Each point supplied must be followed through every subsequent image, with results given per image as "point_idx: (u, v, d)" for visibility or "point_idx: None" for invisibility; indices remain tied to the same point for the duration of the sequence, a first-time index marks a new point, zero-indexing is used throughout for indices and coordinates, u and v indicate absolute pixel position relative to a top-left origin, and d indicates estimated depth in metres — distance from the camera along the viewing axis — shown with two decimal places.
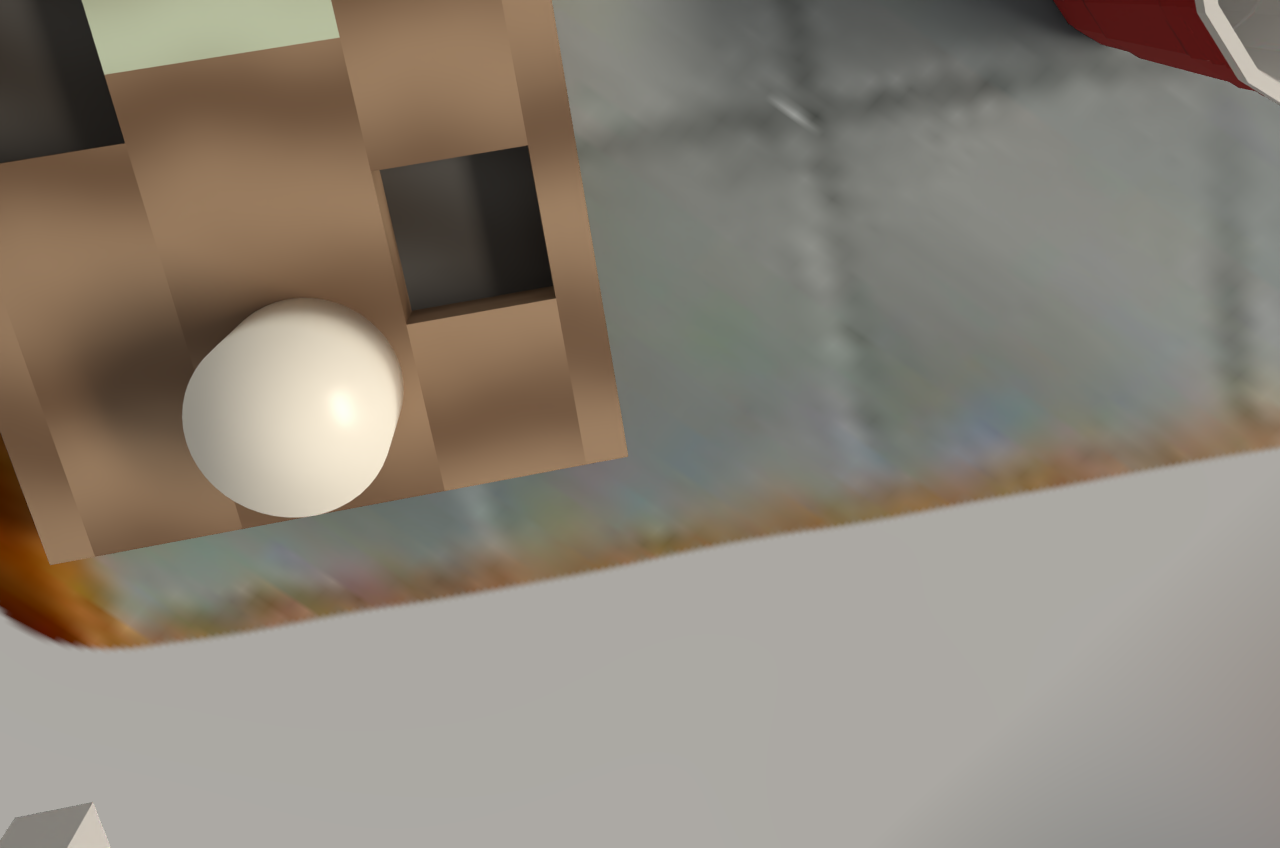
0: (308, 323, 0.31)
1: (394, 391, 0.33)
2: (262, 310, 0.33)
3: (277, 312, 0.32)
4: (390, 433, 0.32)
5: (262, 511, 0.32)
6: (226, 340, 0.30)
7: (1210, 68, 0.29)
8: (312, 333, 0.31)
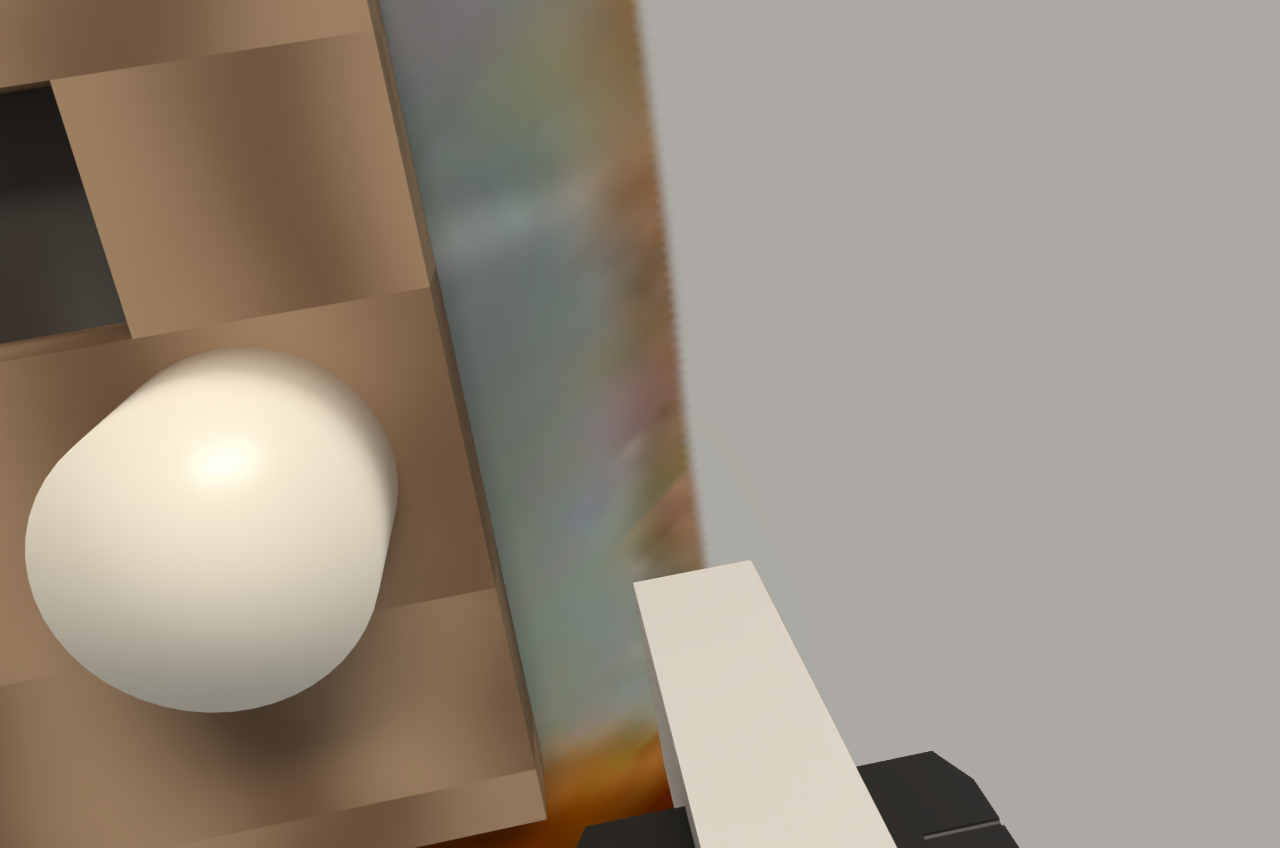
0: None
1: (184, 381, 0.19)
2: None
3: None
4: (210, 407, 0.18)
5: (369, 609, 0.19)
6: (67, 648, 0.19)
7: None
8: (33, 525, 0.18)
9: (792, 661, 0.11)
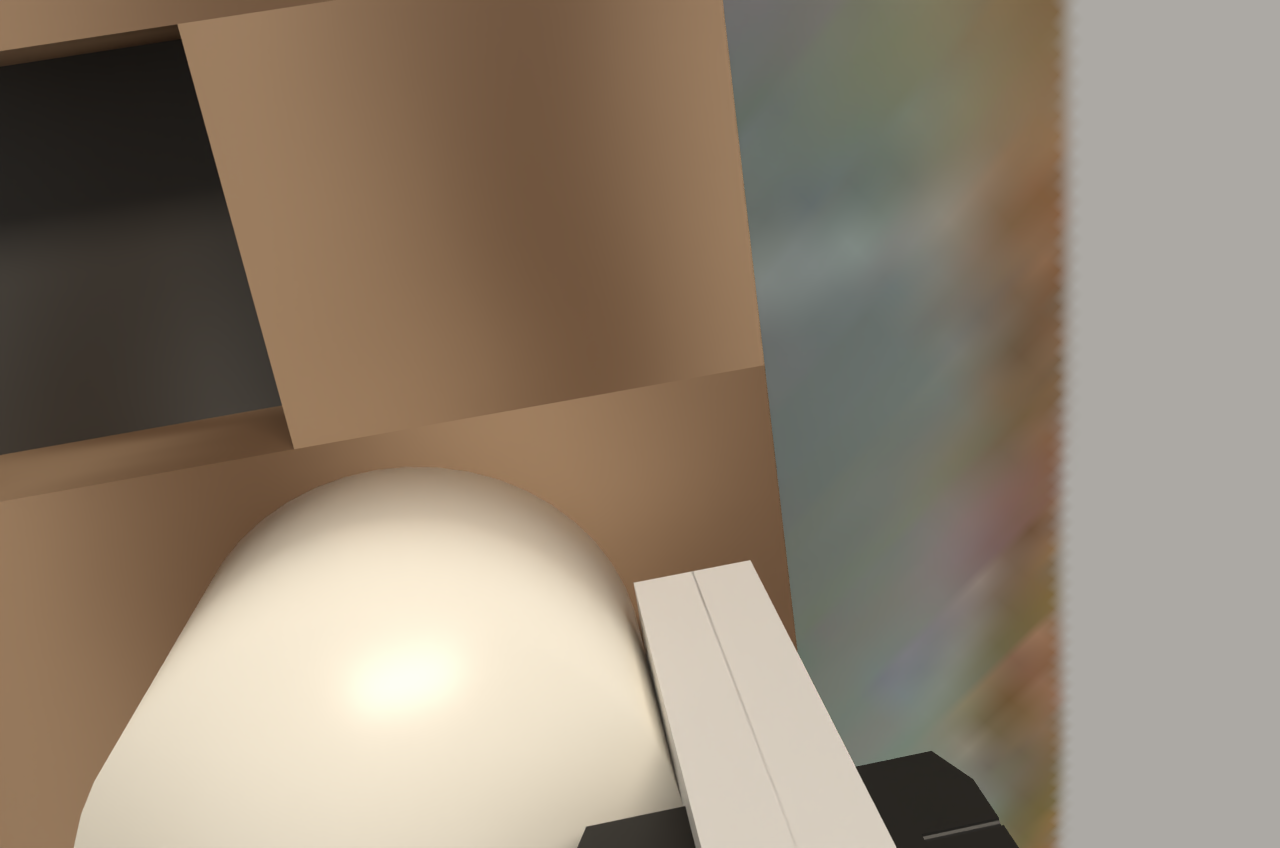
0: None
1: (350, 549, 0.11)
2: None
3: None
4: (420, 622, 0.10)
5: None
6: None
7: None
8: (89, 828, 0.10)
9: (791, 661, 0.11)
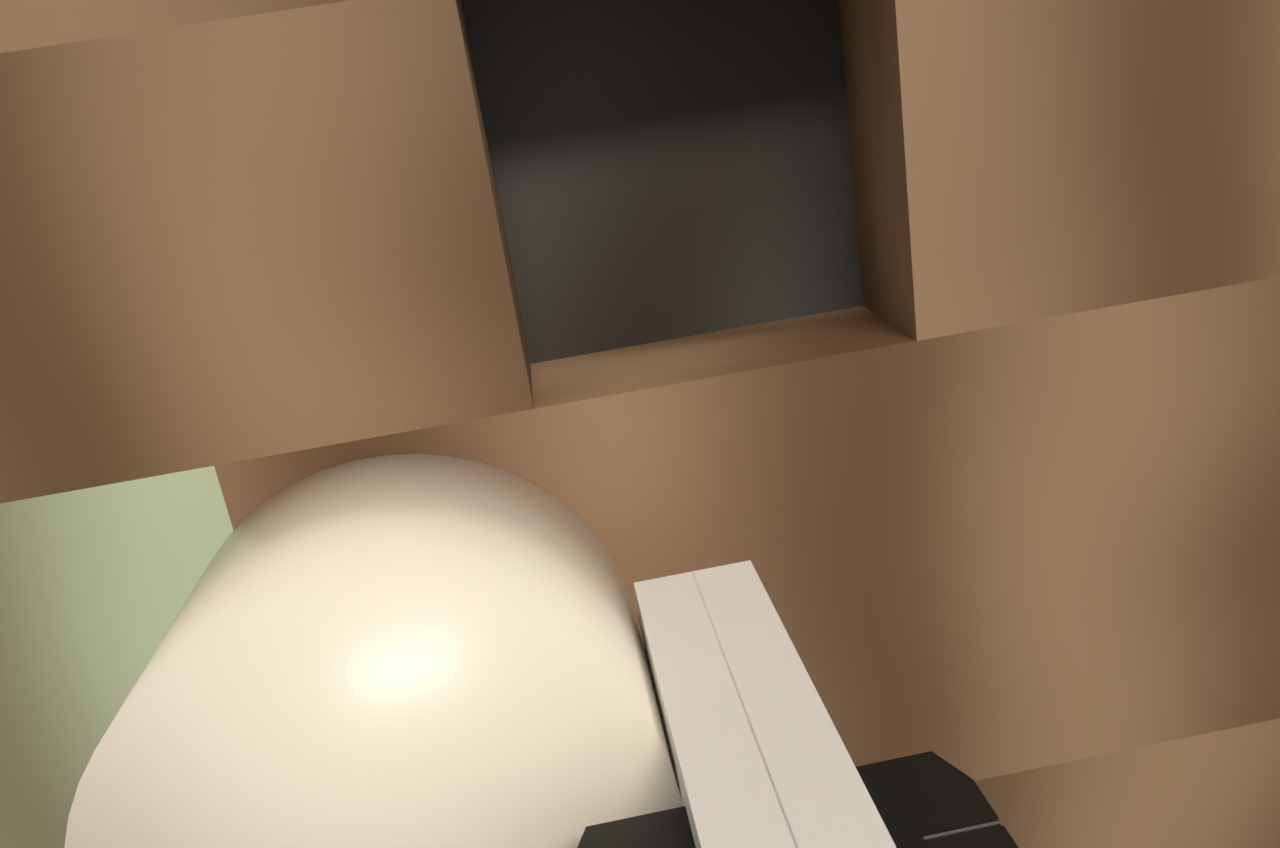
0: None
1: (364, 532, 0.11)
2: None
3: None
4: (436, 608, 0.10)
5: None
6: None
7: None
8: (86, 796, 0.10)
9: (792, 662, 0.11)
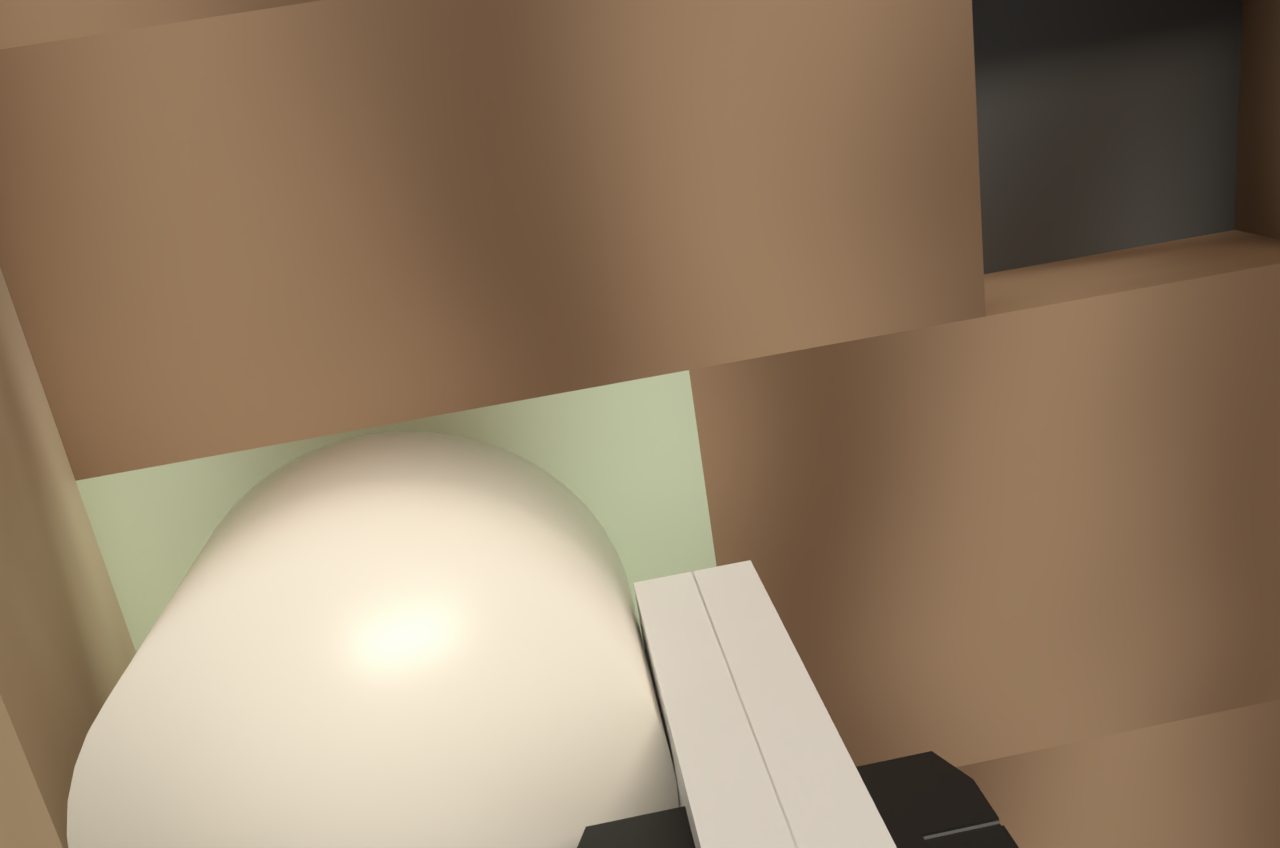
0: None
1: (378, 503, 0.11)
2: None
3: None
4: (450, 579, 0.10)
5: None
6: None
7: None
8: (94, 747, 0.10)
9: (792, 661, 0.11)
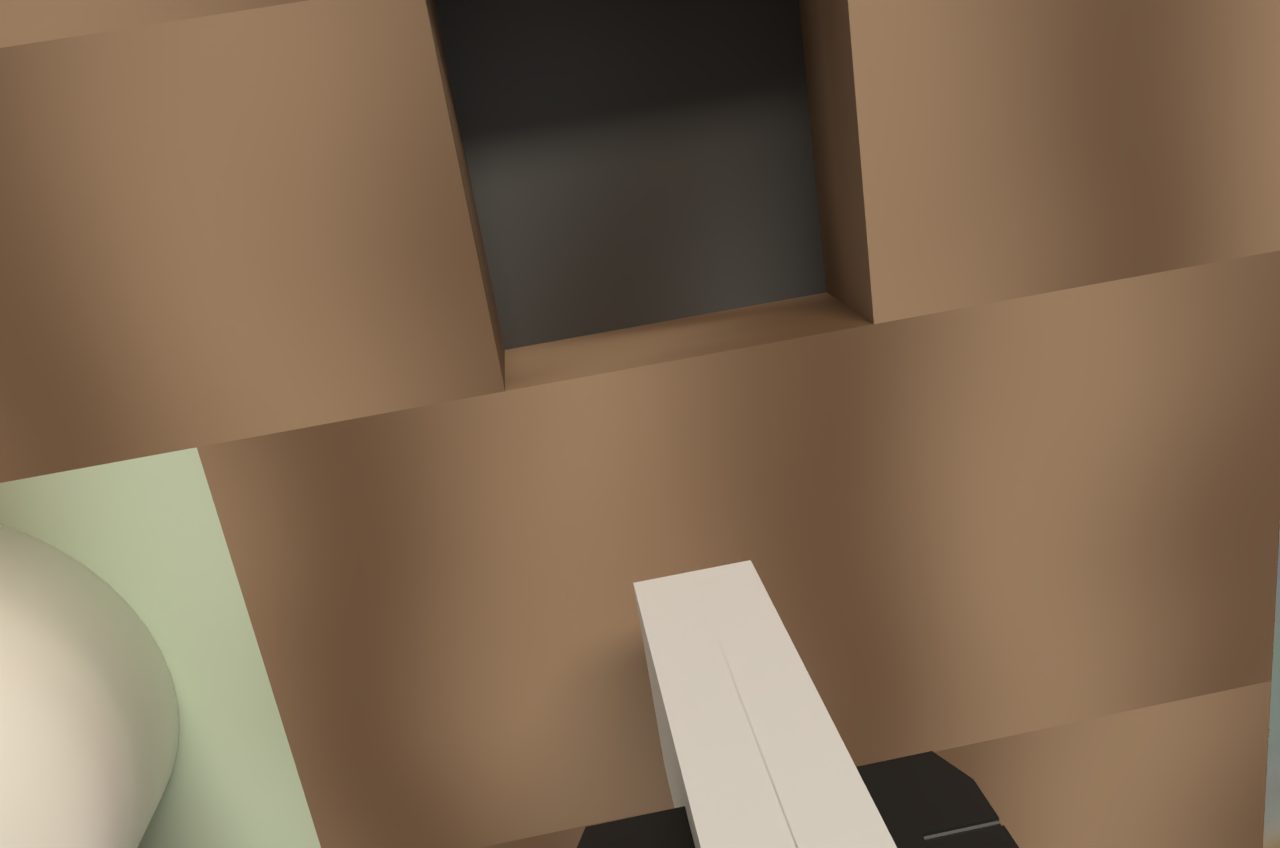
0: None
1: None
2: None
3: None
4: None
5: None
6: None
7: None
8: None
9: (792, 661, 0.11)
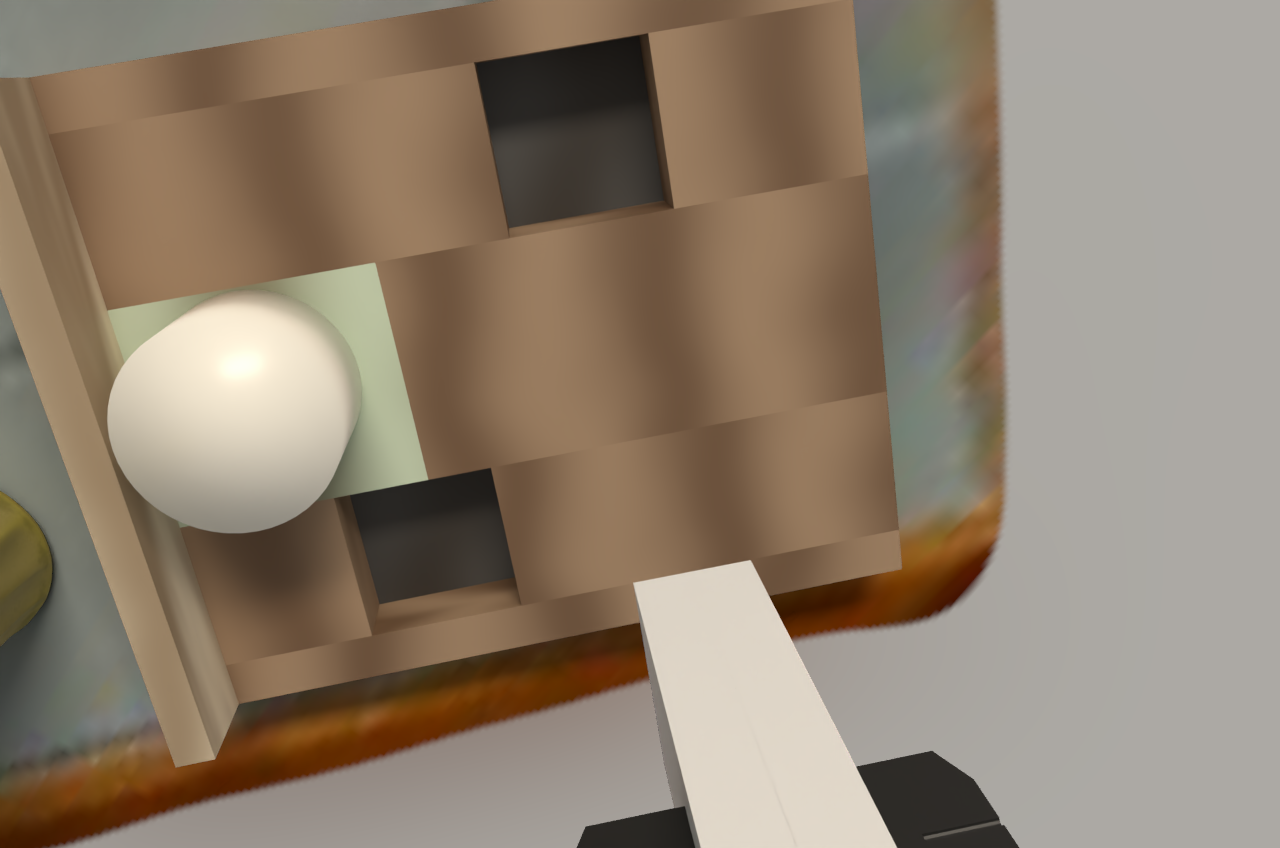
0: None
1: (227, 306, 0.29)
2: None
3: None
4: (245, 323, 0.27)
5: (331, 474, 0.29)
6: (125, 472, 0.28)
7: None
8: (117, 386, 0.27)
9: (792, 661, 0.11)
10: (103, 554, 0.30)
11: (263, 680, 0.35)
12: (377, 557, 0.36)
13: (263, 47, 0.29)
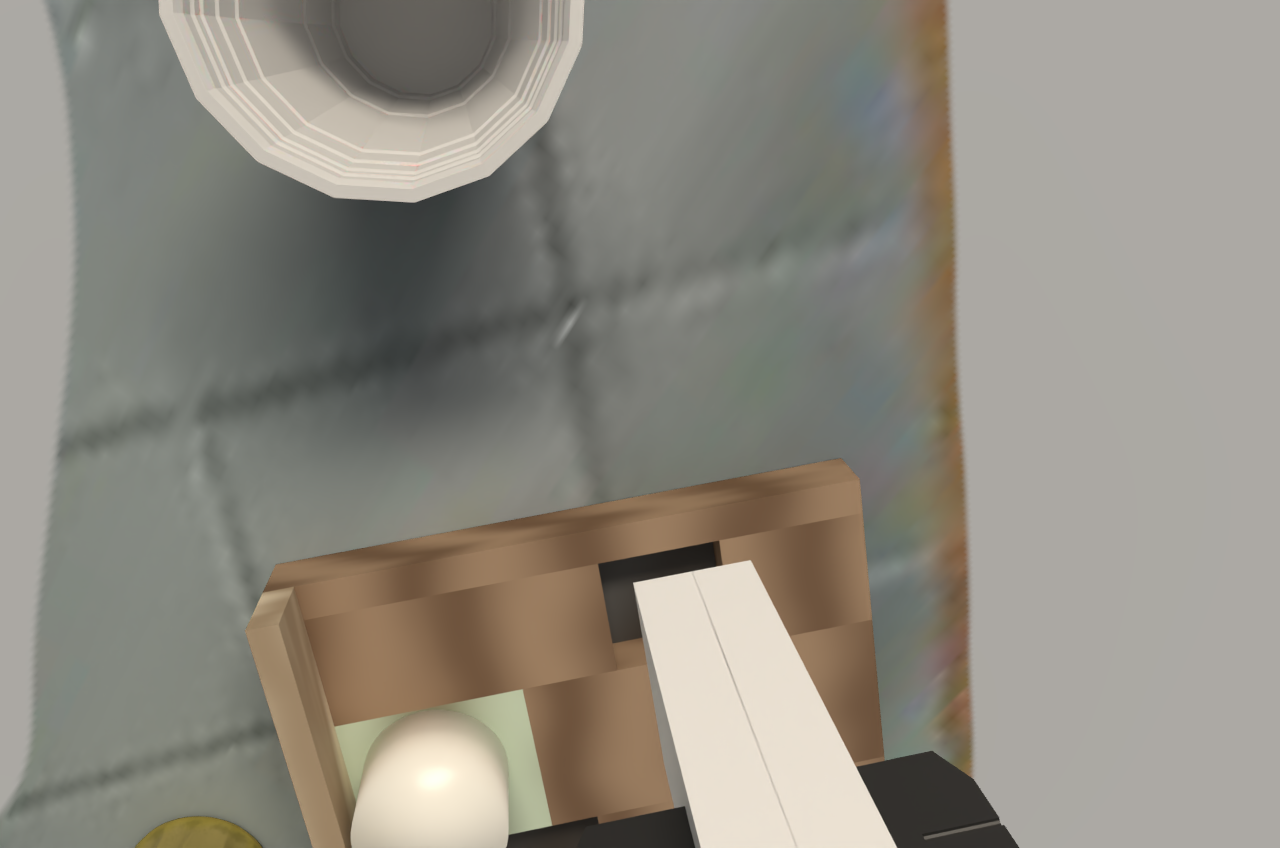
0: (356, 806, 0.41)
1: (428, 744, 0.41)
2: None
3: None
4: (448, 771, 0.40)
5: None
6: None
7: None
8: (359, 811, 0.40)
9: (792, 661, 0.11)
10: None
11: None
12: None
13: (453, 561, 0.42)
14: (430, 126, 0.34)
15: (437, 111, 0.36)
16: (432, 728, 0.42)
